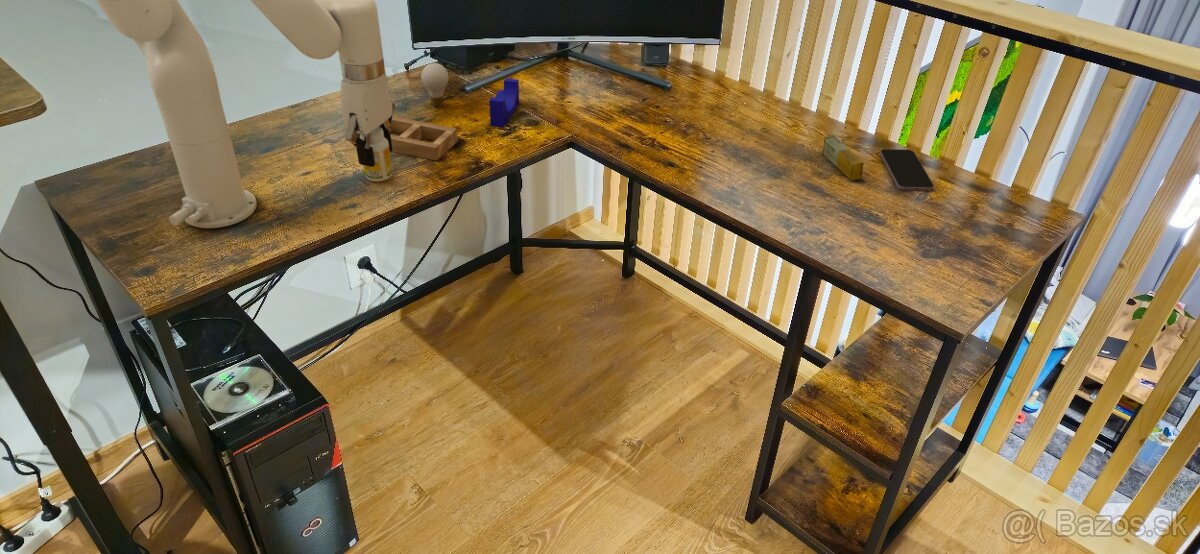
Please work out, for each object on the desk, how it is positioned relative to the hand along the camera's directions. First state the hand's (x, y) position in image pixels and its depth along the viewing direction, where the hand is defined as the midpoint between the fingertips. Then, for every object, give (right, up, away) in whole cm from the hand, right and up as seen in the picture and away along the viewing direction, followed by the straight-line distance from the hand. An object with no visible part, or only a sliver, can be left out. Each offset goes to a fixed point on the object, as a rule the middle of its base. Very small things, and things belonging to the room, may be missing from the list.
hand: (375, 156), depth 161 cm
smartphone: (+105, -2, +12) cm, 106 cm away
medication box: (+92, -1, +13) cm, 93 cm away
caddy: (+4, +5, +15) cm, 16 cm away
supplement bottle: (0, -3, +3) cm, 4 cm away
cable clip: (+21, +13, +27) cm, 37 cm away
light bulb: (+6, +15, +29) cm, 34 cm away
